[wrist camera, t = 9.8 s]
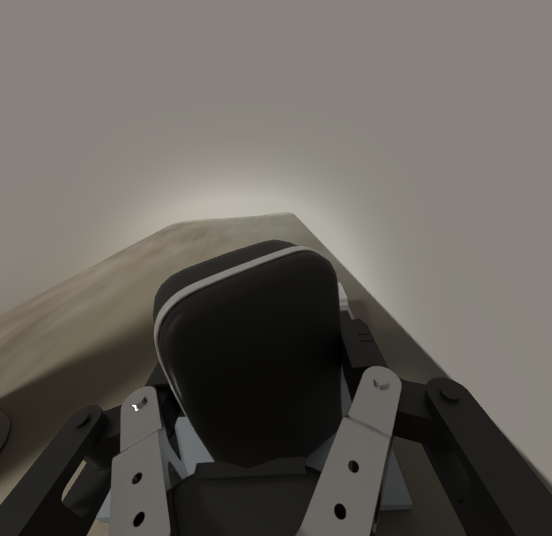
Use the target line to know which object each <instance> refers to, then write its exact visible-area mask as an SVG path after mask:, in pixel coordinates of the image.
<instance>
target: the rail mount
mask: <svg viewBox="0 0 552 536" xmlns="http://www.w3.org/2000/svg"><path fill="white" fill-rule="evenodd" d="M338 289H339V302H340V311H341V310H348V312H349V314H350V317H351V319H354V317H353V314H352V312H351V310H350V308H349V305H348V298H347V296H346V294H345V292H344V289H343V287H342V285H341V283H338ZM341 401H342V416H343V417H344V416H345V415H346V416H347V415H348V413H349V411H350V408H351V405H352V401H351V398H350V394H349V391H348V387H347V384H346V380H345V376H344V373H343V369H342V366H341ZM176 426H177V429H178V434H179V438H180V443H181V448H182V452H183V457H184V462H185V466H186V469H187V472H188V474H189V475H191V474H193V473H194V472H195V468H196V464H197V463H204V462H214V460H213V459H212V457H211V456H210V454H209V453H208V451H207V449H206V448H205V446H204V445H203V443H202V442H201V440H200V439H199V437H198V435H197V434H196V432H195V431H194V429H193V427H192V426H191V424H190V423H189V421H188V419H187V417H178V419H177V422H176ZM336 434H337V432H336V433H335V434H334V435H333V436H332V437H330V438H329V439H328V440H327V441H326V442H325V443H324V444H322V445H321V446H320V447H319V448H318V449H317V450H316V451H314V452H313V453H312V454H311V455H310V456H309V457H307V458H306V459H305V463H306V466H309V467H312V468H314V469H317V470H319V471H320V472H322V470H323V468H324V465H325V463H326V460H327V457H328V455H329V452H330V450H331V447H332V444H333V442H334V439H335V437H336ZM110 500H111V489H110V491H109V493H108V495H107V497H106V499H105V501H104V503H103V505H102V507H101V509H100V510H99V512H98V514H97V516H96V519H98V520H99V521H100V522H110ZM412 506H413V503H412V500H411V497H410V494H409V492H408V489H407V486H406V484H405V481H404V478H403V476H402V473H401V470H400V468H399V465H398V462H397V460H396V457H395V454H394V452H393V449H392V451H391V456H390V461H389V466H388V471H387V476H386V481H385V487H384V493H383V498H382V504H381V509H380V511H383V510H407V509H412Z"/></svg>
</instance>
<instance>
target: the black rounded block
mask: <svg viewBox="0 0 552 536" xmlns="http://www.w3.org/2000/svg"><path fill="white" fill-rule="evenodd" d="M153 317H154V323H155V326H154V341H155V347H156V352H157V355H158V358H159V362H160V364H161V366H162V369H163V371H164V373H165V375H166V377H167V380H168V382H169V384H170V386H171V388H172V390H173V392H174V394H175V396H176V398H177V400H178V402H179V404H180V406H181V408H182V410H183V412H184V414H185V415H186V417H187V419H188V421H189V423H190V424H191V426H192V427H193V429H194V431H195V432H196V434H197V435H198V437H199V439H200V440H201V442H202V443H203V445H204V446H205V448H206V449H207V451H208V453H209V454H210V456H211V457H212V459H213V460H214V462H221V461H223V462H226V463H230V464H233V465H237V466H240V467H244V468H252V467H255V466H258V465H260V464H263V463H266V462H268V461H271V460H274V459H276V458H289V457H304V458H305V459H306V458H307V457H309V456H310V455H311V454H312V453H313V452H314V451H316V450H317V449H318V448H319V447H320V446H321V445H322V444H324V443H325V442H326V441H327V440H328V439H329V438H330V437H332V436H333V435H334V434H335V433H336V432H337V431H338V429H339V426H340V424H341V421H342V419H343V416H342V401H341V317H340V302H339V289H338V282H337V276H336V273H335V271H334V269H333V267H332V265H331V263H330V261H328V260H327V259H326V258H324V256H323V255H322V254H321V253H320V252H318V251H316V250H314V249H311V248H308V247H305V246H297V245H295V244H292V243H290V242H285V241H280V240H270V241H264V242H261V243H257V244H254V245H251V246H248V247H245V248H242V249H238V250H235V251H232V252H229V253H226V254H223V255H221V256H218V257H215V258H212V259H210V260H207V261H204V262H202V263H199V264H196V265H194V266H191V267H188V268H186V269H184V270H182V271H180V272H178V273H176V274H174V275H172V276H171V277H169V278H168V279H167V280H166V281H165V282H164V283H163V284H162V285H161V286H160V288H159V290H158V292H157V294H156V296H155V302H154V312H153Z"/></svg>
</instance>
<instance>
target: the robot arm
mask: <svg viewBox="0 0 552 536" xmlns="http://www.w3.org/2000/svg"><path fill="white" fill-rule="evenodd" d="M340 317H341V366H342V369H343V373H344V376H345V380H346V384H347V387H348V391H349V394H350V398H351V401H352V405H351V408H350V411H349V413H348V415H347V416H346V415H345V416H344V417H343V419H342V421H341V424H340V426H339V429H338V431H337V434H336V437H335V439H334V442H333V444H332V447H331V450H330V452H329V455H328V457H327V460H326V463H325V465H324V468H323V470H322V472H320V471H319V470H317V469H314V468H312V467H309V466H306V463H305V458H304V457H289V458H276V459H274V460H271V461H268V462H266V463H263V464H260V465H258V466H255V467H252V468H244V467H240V466H237V465H233V464H230V463H226V462H223V461H221V462H204V463H197V464H196V468H195V472H194V473H193V474H191V475H189V474H188V472H187V469H186V466H185V462H184V457H183V452H182V448H181V443H180V438H179V434H178V429H177V426H176V422H177V419H178V417H186V415H185V414H184V412H183V410H182V408H181V406H180V404H179V402H178V400H177V398H176V396H175V394H174V392H173V390H172V388H171V386H170V384H169V382H168V380H167V377H166V375H165V373H164V371H163V369H162V366H161V364H160V362H158V364H157V366H156V367H155V369H154V371H153V372H152V374H151V376H150V378H149V379H148V381H147V383H146V385H145V386H144V387H142V388H140V389H138V390H136V391H134V392H133V393H132V394H131V395H129V396H128V397H127V399H126V400H125V401H124V403H123V405H120V406H118V407H115V408H112V409H110V410H107V411H103V410H102V409H101V408H100V407H99V406H97V405H92V406H88V407H86V408H84V409H82V410H80V411H79V412H77V413H76V414H75V415H73V416H72V417H71V418H70V419H69V420H68V421H67V422H66V424H65V425H64V426H63V427H62V429H61V430H60V431H59V432H58V434H57V435H56V436H55V437H54V439H53V440H52V441H51V442H50V444H49V445H48V446H47V447H46V449H45V450H44V451H43V452H42V454H41V455H40V456H39V457H38V459H37V460H36V461H35V462H34V464H33V465H32V466H31V467H30V469H29V470H28V471H27V472H26V474H25V475H24V476H23V477H22V479H21V480H20V481H19V482H18V484H17V485H16V486H15V487H14V489H13V490H12V491H11V492H10V494H9V495H8V496H7V497H6V499H5V500H4V501H3V502H2V504H1V505H0V536H87V534H88V532H89V530H90V528H91V526H92V524H93V522H94V520H95V518H96V516H97V514H98V512H99V510H100V509H101V507H102V505H103V503H104V501H105V499H106V497H107V495H108V493H109V491H110V489H111V500H110V526H109V536H376V535H375V534H376V529H377V524H378V519H379V514H380V509H381V504H382V498H383V493H384V487H385V481H386V476H387V471H388V466H389V461H390V456H391V451H392V446H393V441H394V436H397V437H401V438H404V439H408V440H411V441H415V442H419V443H421V444H422V446H423V448H424V450H425V452H426V454H427V456H428V458H429V460H430V462H431V464H432V466H433V468H434V470H435V472H436V474H437V476H438V478H439V480H440V482H441V484H442V486H443V488H444V490H445V492H446V494H447V496H448V498H449V500H450V502H451V504H452V506H453V508H454V510H455V512H456V514H457V516H458V518H459V520H460V522H461V524H462V526H463V528H464V530H465V532H466V534H467V536H552V495H551V493H550V492H549V491H548V490H547V488H546V487H545V486H544V485H543V483H542V482H541V481H540V480H539V478H538V477H537V476H536V475H535V473H534V472H533V471H532V470H531V468H530V467H529V466H528V465H527V463H526V462H525V461H524V460H523V458H522V457H521V456H520V455H519V453H518V452H517V451H516V450H515V449H514V447H513V446H512V445H511V444H510V442H509V441H508V440H507V439H506V437H505V436H504V435H503V434H502V432H501V431H500V430H499V429H498V427H497V426H496V425H495V424H494V422H493V421H492V420H491V419H490V417H489V416H488V415H487V414H486V412H485V411H484V410H483V409H482V407H481V406H480V405H479V404H478V402H477V401H476V400H475V399H474V397H473V396H472V395H471V394H470V392H469V391H468V390H467V389H466V388H465V387H463V386H462V385H461V384H459V383H457V382H455V381H453V380H450V379H447V378H433V379H431V380H430V381H429V382H428V383H427V385H424V384H419V383H414V382H409V381H406V380H403V379H401V378H399V377H398V376H397V375H396V374H395V373H394V372H393V371H391V370H390V369H389V368H388V367H387V365H386V363H385V361H384V359H383V357H382V355H381V353H380V350H379V348H378V346H377V344H376V342H375V341H374V338H373V336H372V335H371V332H370V330H369V328H368V326H367V325H366V324H365V323H364V322H363V321H362V320H360V319H351V317H350V314H349V312H348V310H341V311H340ZM9 430H10V420H9V419H8V417H7V416H6V415H5V414H4V413H3V412H2V411H1V410H0V449H1V447H2V446H3V444H4V442H5V440H6V438H7V435H8V432H9ZM83 460H84V461H85V462H86V465H85V466H84V468H83V470H82V471H81V473H80V474H79V476H78V478H77V479H76V481H75V482H74V484H73V485H72V487H71V489H70V490H69V492H68V493H67V495H66V497H65V498H64V500H63V501H62V500H61V499H62V493H63V491H64V489H65V487H66V485H67V484H68V482H69V480H70V479H71V477H72V476H73V474H74V473H75V471H76V470H77V468H78V467H79V465H80V464H81V462H82V461H83Z"/></svg>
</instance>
